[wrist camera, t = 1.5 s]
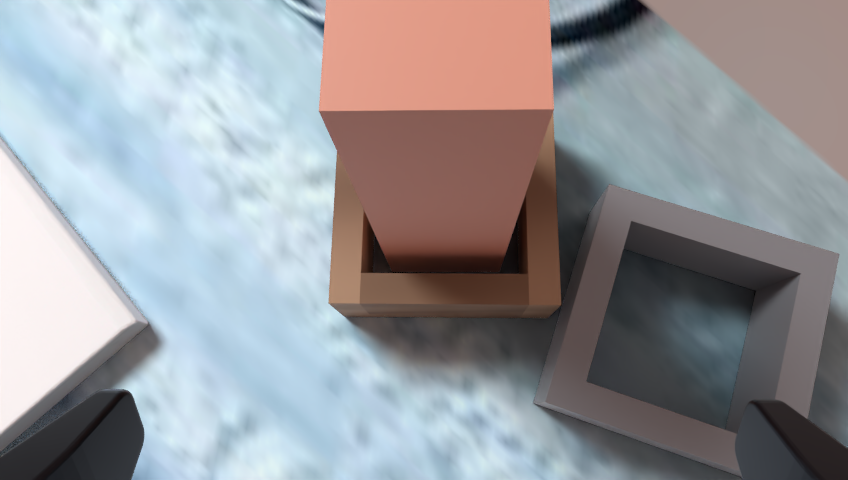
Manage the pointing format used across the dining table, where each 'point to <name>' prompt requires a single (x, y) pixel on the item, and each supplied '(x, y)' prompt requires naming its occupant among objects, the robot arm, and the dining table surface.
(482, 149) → the peg
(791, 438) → the robot arm
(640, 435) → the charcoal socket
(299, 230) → the dining table surface
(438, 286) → the walnut socket
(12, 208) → the external hard drive
